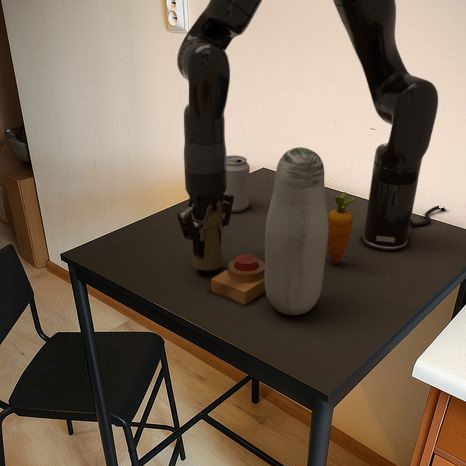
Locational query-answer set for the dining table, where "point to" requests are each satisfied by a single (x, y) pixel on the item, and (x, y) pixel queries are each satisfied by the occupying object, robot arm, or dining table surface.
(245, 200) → the can
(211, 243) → the cork
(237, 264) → the red button
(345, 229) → the carrot
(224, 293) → the button box
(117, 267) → the dining table surface
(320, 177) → the grey tall rounded cylinder
